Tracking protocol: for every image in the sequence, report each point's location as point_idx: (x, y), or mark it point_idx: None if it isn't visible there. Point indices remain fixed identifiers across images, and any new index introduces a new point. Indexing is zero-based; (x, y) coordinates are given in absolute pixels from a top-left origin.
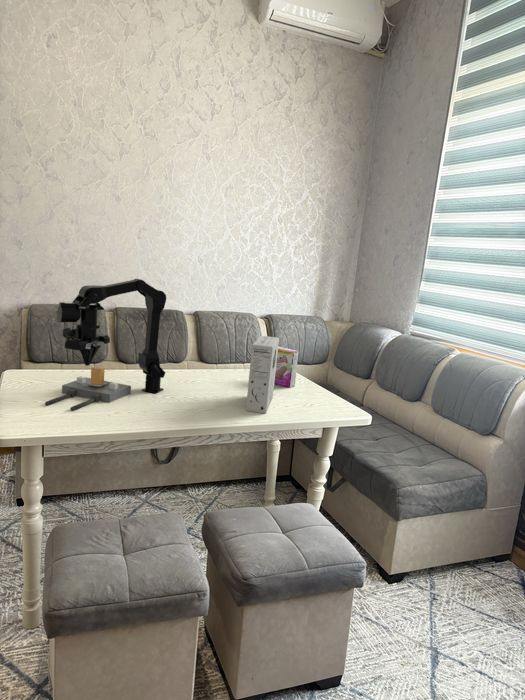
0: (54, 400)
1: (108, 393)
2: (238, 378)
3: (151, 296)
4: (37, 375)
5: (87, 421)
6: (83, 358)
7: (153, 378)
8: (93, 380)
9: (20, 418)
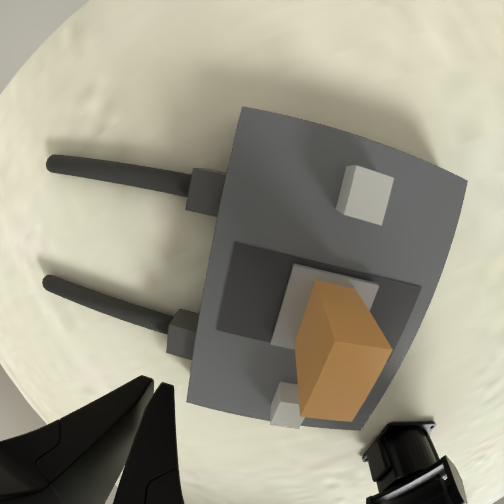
0: (76, 175)
1: (197, 395)
2: (484, 486)
3: None
4: None
5: (27, 345)
6: (81, 413)
7: (379, 491)
8: (312, 308)
9: None
